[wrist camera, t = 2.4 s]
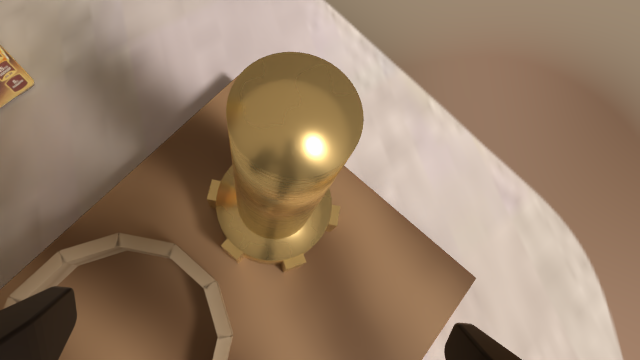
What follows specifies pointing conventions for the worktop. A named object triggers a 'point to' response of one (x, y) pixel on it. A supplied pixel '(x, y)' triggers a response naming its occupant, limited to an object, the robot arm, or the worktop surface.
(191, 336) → the gear board
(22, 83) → the candy box
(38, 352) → the robot arm
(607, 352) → the worktop surface
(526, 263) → the worktop surface
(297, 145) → the gear shaft
